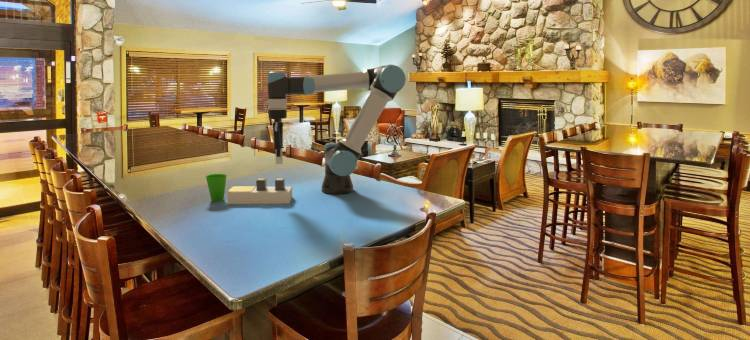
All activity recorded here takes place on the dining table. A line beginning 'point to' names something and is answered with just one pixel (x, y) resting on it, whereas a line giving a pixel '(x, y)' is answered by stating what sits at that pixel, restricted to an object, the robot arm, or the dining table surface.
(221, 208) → the dining table surface
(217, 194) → the cup
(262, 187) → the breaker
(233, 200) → the box
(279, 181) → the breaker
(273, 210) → the dining table surface
